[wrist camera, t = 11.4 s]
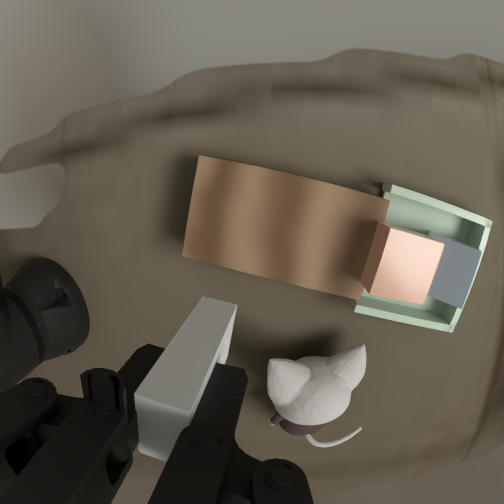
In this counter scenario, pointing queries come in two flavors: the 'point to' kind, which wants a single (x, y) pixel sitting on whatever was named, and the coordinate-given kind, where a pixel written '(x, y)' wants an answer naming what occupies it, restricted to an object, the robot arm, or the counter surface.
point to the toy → (314, 391)
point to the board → (281, 225)
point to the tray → (423, 221)
